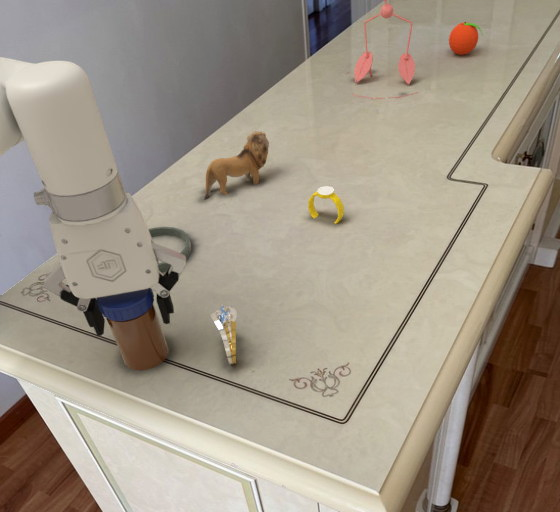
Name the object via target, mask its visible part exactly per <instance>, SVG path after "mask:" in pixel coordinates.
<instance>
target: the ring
mask: <svg viewBox="0 0 560 512" xmlns="http://www.w3.org/2000/svg"><path fill="white" fill-rule="evenodd" d="M210 317H211V320H212V321H213V323H214V324H215V326H216V328H217V329H218V331H219V334H220V337H221V338H222V339H221V340H222V342H223V347H224V350H225V354H226V358H227V360H228V364H229V365H234V364H235V365H236V364H237V341H236V340H237V329H236V328H237V323H236V322H237V317H238V312H237V310H236V309H235V308H234V307H233V306H226V307H225V306H224V304H223V303H222V304H220V309H216V310H215V311H214V312H211V314H210Z"/></svg>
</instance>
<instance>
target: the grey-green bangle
mask: <svg viewBox="0 0 560 512" xmlns="http://www.w3.org/2000/svg"><path fill="white" fill-rule="evenodd" d="M148 230H149V232H150V235H151V237H152V238H154V237H164V236H169V237H176V238H179V239H181V240H182V241H184V242H185V246H184V248H183V249H182V250H181V251H180V253H181V254H184V255H185V256H186V260H187V259H188V257H189V256H190V255H191V252H192V243H191V240H190V237H189V234H188V233H187V232H185V231H184V230H182V229H180V228H177V227H175V226H174V227H172V226H158V227H152V228H148ZM170 267H171V265H170V264H168V263H165V262H162V261H161V262H158V269H159V271H160V272H161V273H164V272H167V270H168V269H169V268H170Z"/></svg>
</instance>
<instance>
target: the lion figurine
mask: <svg viewBox="0 0 560 512" xmlns="http://www.w3.org/2000/svg"><path fill="white" fill-rule="evenodd" d="M246 141H247V142H246V143H245V145H244V146H243V149H242V150H241V151H240V153H239V154H237V155H235V156H232V157H231V156H230V157H226V158H225V157H224V158H221V157H219V158H215V159H214V160H212V161H211V162H210V163H209V165H208V167H207V169H206V173H205V195H204V198H203V201H206V200H208V199H209V195H210V193H212V191H211V189H212V187H213V186H214V184H215V183H216V182H217V183H218V185H219V192H220V194H222V196H227V195H229V193H228V191H227V189H226V188H227V184H228V183H227V182H228V177H231V178H239V177H244V176H245V181H246V182H251V181H253V185H256V186H257V185H259V184H260V182H259V181H260V170H261V169H262V168H264V167H265V165H266V163H267V159H268V155H269V147H270V142H269V139H268V138H267V135H266V133H265V132H263V131H257V130H256V131H253V132H251V133H250V134H249V135H247V137H246Z"/></svg>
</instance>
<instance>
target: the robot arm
mask: <svg viewBox="0 0 560 512" xmlns="http://www.w3.org/2000/svg"><path fill="white" fill-rule="evenodd" d="M97 103H98V102H97V100H96V97H95V94H94V91H93V87H92V84H91V82H90V79H89V77H88V75H87V72H86V71H85V70H84V69H83V68H82V67H81V66H80V65H78V64H76V63H74V62H72V61H69V60H68V61H67V60H47V61H42V62H38V63H34V62H28V61H22V60H18V59H15V58H9V57H3V56H0V157H2V156H3V155H4V154H6V152H8V151H9V150H10V149H11V148H13V147H15V146H17V145H18V144H20V143H23V142H25V145H26V148H27V149H28V152H29V155H30V156H31V159H32V162H33V164H34V166H35V169H36V171H37V173H38V176H39V179H40V180H41V183H42V185H43V189H40V191H34V192H33V197H34V201H35V204H36V205H37V206H43V205H44V206H48V207H49V208H50V210H51V213H50V215H49V219H48V222H49V226H50V231H51V236H52V240H53V243H54V246H55V250H56V254H57V257H58V259H59V263H58V264H57V266H56V267H55V268H54V269H53V270H52V271H51V272H50V273H49V274H48V275H47V276H46V277H45V279H44V283H43V288H44V289H45V290H47V291H49V292H51V294H54V295H55V296H58V297H60V300H62V301H63V302H64V303H67V304H70V305H72V306H74V307H76V309H77V311H79V312H82V313H83V315H84V317H85V320H86V322H87V324H88V326H89V328H93V329H94V331H95V334H96V336H97V337H100V336H103V335H104V334H105V325H106V324H105V323H106V320H105V319H106V318H105V317H104V315H103V314H102V313H101V311H100V309H99V306H98V303H97V299H96V298H98V297H104V296H110V295H116V294H122V293H127V292H133V291H139V290H144V289H148V288H151V289H152V291H153V293H155V294H156V298H155V299H156V303H157V307H158V311H159V313H160V316H161V319H162V323H163V324H165V325H170V324H171V314H174V313H175V309H174V308H175V307H174V303H173V300H172V297H171V291H172V289H173V288H174V286H175V285H177V283H178V281H179V279H180V276H181V275H182V273H183V271H184V270H185V268H186V265H187V259H186V256H185V255H184V254H181V252H178V251H176V250H173V249H171V248H168V247H165V246H163V245H160V244H157V243H155V242H154V240H153V237H151V235H150V232H149V230H148V229H149V228H148V225H147V222H146V221H145V218H144V217H143V214H142V212H141V209H140V208H139V206H138V204H137V202H136V200H135V199H134V197H133V195H132V194H131V193H129V192H125V188H124V186H123V183H122V180H121V177H120V173H119V169H118V167H117V164H116V163H117V162H116V160H115V156H114V153H113V151H112V150H113V149H112V148H111V144H110V141H109V138H108V134H107V131H106V129H105V125H104V122H103V119H102V117H101V116H102V115H101V113H100V110H99V106H98V104H97ZM159 261H160V262H161V263H162V262H165V263H168V264H170V265H171V267H170V268H169V269H168V270H167V271H165V273H164V272H160V271H159V269H158V263H160V262H159ZM64 279H65V280H66V283H67V284H65V283H64V282H63V281H64Z"/></svg>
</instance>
